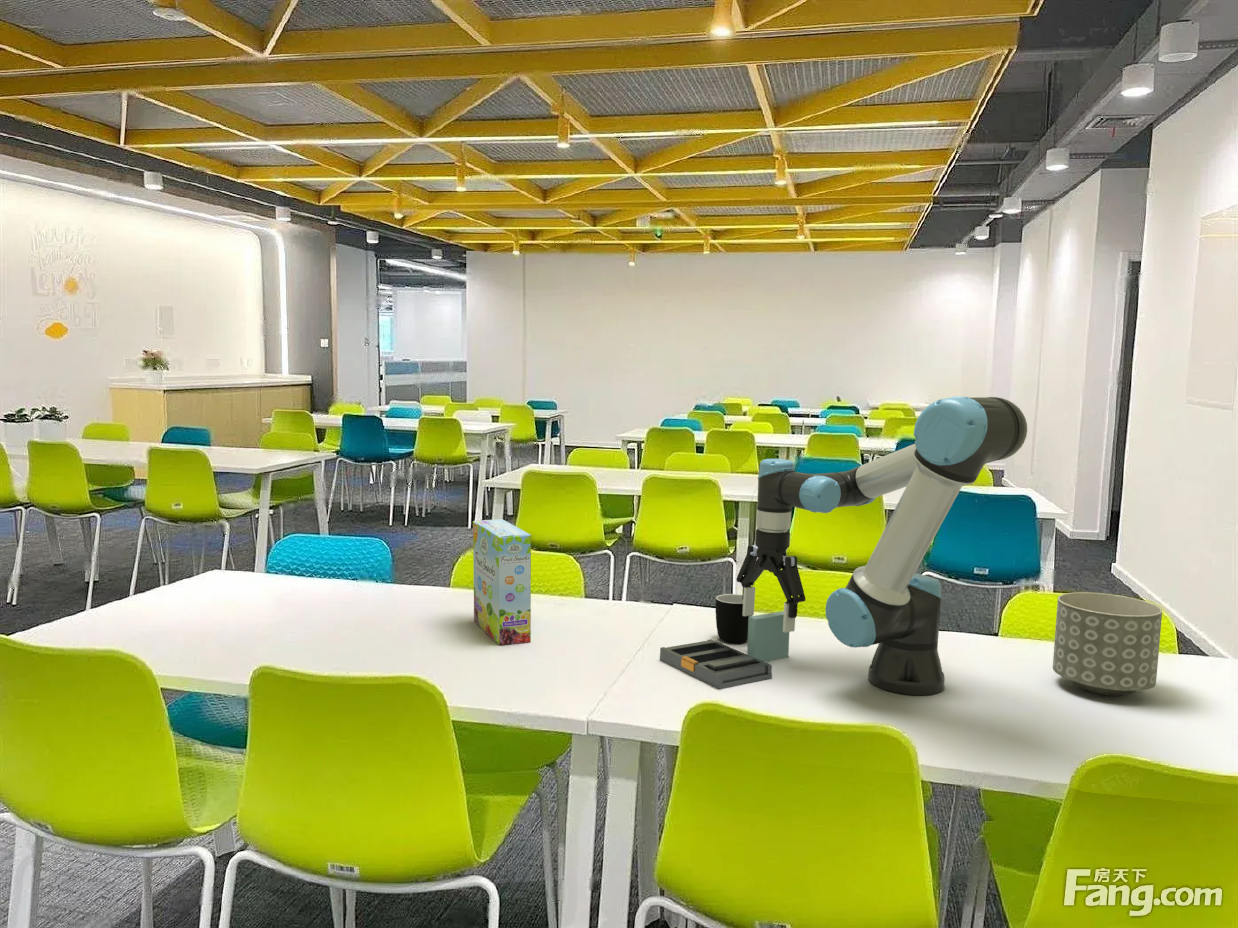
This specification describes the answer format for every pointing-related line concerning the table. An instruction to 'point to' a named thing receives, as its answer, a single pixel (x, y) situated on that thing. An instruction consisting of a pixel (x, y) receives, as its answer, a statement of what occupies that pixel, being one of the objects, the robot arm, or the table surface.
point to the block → (767, 637)
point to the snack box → (502, 581)
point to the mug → (731, 619)
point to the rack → (716, 663)
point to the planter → (1107, 642)
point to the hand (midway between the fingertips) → (767, 623)
